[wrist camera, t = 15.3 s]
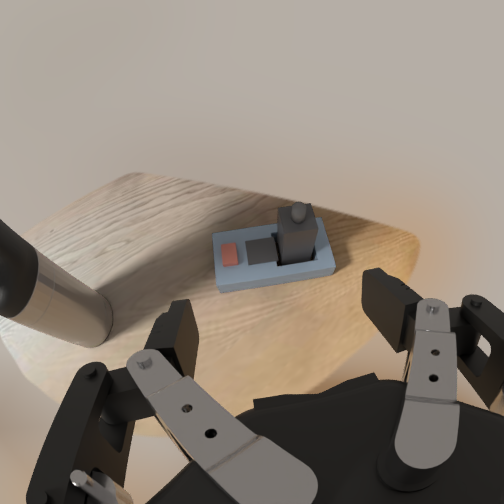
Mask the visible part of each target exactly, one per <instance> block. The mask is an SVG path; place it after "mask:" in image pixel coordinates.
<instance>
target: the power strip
mask: <svg viewBox="0 0 504 504" xmlns="http://www.w3.org/2000/svg"><path fill="white" fill-rule="evenodd" d="M315 219H316V222H317V225H318V228H319V229H318V233H317V237H316V240H315V244H314V248H313V251H312V259H313V261H308V262H302V263H296V264H290V265H284V266H277V263H276V261H278V255H277V250H276V246H275V242H277V223H276V224H269V225H263V226H256V227H249V228H243V229H237V230H230V231H224V232H218V233H212V239H213V252H214V264H215V275H216V286H217V288H218V289H219V291H220V293H224V292H231V291H238V290H245V289H252V288H258V287H264V286H271V285H277V284H283V283H289V282H295V281H301V280H307V279H313V278H318V277H324V276H329V275H332V274H333V272H334V270H335V268H336V264H335V261H334V257H333V254H332V250H331V247H330V244H329V240H328V237H327V234H326V230H325V227H324V224H323V221H322V218H321V217H318V218H315Z"/></svg>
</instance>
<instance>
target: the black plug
mask: <svg viewBox="0 0 504 504" xmlns="http://www.w3.org/2000/svg"><path fill="white" fill-rule="evenodd" d="M318 229H319V228H318V225H317V222H316V219H315V215H314V212H313V209H312V206H311V203H309V204H304V203H302V202H296V203H294V204H293V205H292V206H287V207H281V208H278V221H277V251H278V255H279V260H280V265H281V266H284V265H290V264H296V263H302V262H308V261H310V258H311V255H312V251H313V248H314V244H315V240H316V237H317V233H318Z"/></svg>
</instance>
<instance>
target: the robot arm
mask: <svg viewBox="0 0 504 504" xmlns="http://www.w3.org/2000/svg"><path fill="white" fill-rule="evenodd" d="M362 308H363V310H364V312H365V314H366V315H367V316H368V317H369V319H370V320H371V321H372V322H373V324H374V325H375V326H376V327H377V329H378V330H379V331H380V332H381V334H382V335H383V336H384V338H385V339H386V340H387V341H388V343H389V344H390V345H391V346H392V348H393V349H394V350H395V352H396V353H399V352H401V351H404V350H407V351H408V353H407V357H406V362H405V367H404V373H403V377H402V381H397V380H378V378H377V376H376V375H375V373H370V374H367V375H364V376H360V377H357V378H354V379H350V380H347V381H345V382H343V383H341V384H339V385H337V386H335V387H332V388H330V389H328V390H326V391H324V392H322V393H319V394H284V395H278V396H272V397H266V398H259V399H253V403H254V408H253V409H250V410H248V411H245V412H243V413H241V414H239V415H238V416H236V417H234V416H233V415H231V414H230V413H229V412H228V411H227V410H226V409H224V408H223V407H222V406H221V405H220V404H219V403H218V402H217V401H215V400H214V399H213V398H212V397H211V396H210V395H209V394H208V393H207V392H206V391H205V390H203V389H202V388H201V387H200V386H199V385H198V384H197V383H196V382H195V381H194V380H193V379H194V372H195V365H196V358H197V351H198V345H199V333H198V328H197V324H196V321H195V317H194V313H193V310H192V306H191V303H190V300H189V299H185V300H177V301H172V303H171V306H170V308H169V311H168V312H166V313H162V314H161V315H160V316H159V317H158V318H157V319H156V321H155V323H154V325H153V328H152V330H151V333H150V335H149V337H148V340H147V342H146V344H145V347H144V349H143V350H141V351H139V352H136V353H135V354H133V355H132V356H131V357H130V358H129V359H128V361H127V364H126V367H124V368H120V369H116V370H112V371H108V369H107V367H106V366H105V364H103V363H101V362H91V363H88V364H86V365H84V366H83V367H81V368H80V369H79V370H78V371H77V373H76V375H75V377H74V379H73V381H72V383H71V385H70V387H69V389H68V391H67V393H66V395H65V397H64V399H63V401H62V403H61V405H60V408H59V410H58V412H57V414H56V416H55V418H54V421H53V423H52V425H51V428H50V430H49V432H48V435H47V437H46V440H45V442H44V445H43V447H42V450H41V452H40V455H39V458H38V460H37V463H36V466H35V469H34V472H33V475H32V478H31V481H30V484H29V487H28V491H27V494H26V503H27V504H133V500H132V498H131V496H130V494H129V493H128V492H127V491H126V490H124V489H123V488H124V481H125V475H126V469H127V462H128V456H129V451H130V446H131V441H132V435H133V430H134V426H135V421H136V420H139V419H143V418H147V417H151V416H154V417H155V418H156V420H157V421H158V423H159V424H160V425H161V427H162V428H163V429H164V431H165V432H166V433H167V435H168V436H169V437H170V439H171V440H172V441H173V442H174V444H175V445H176V446H177V448H178V449H179V450H180V452H181V453H182V454H183V456H184V457H185V458H186V459H187V460H188V462H189V463H188V464H187V465H186V466H185V467H184V468H183V469H182V470H181V471H180V472H179V473H178V474H177V475H176V476H175V477H174V478H173V479H172V480H171V481H170V482H169V483H168V484H167V485H166V486H164V487H163V488H162V489H161V490H160V491H159V492H158V493H157V494H156V495H155V496H153V497H152V498H151V499H150V500H149V501H148V502H147V503H145V504H504V313H503V312H502V311H501V310H499V309H498V308H497V307H496V306H494V305H493V304H492V303H491V302H489V301H488V300H487V299H485V298H483V297H482V296H479V295H467V296H465V297H464V298H463V300H462V305H461V307H456V308H448V306H447V304H445V302H443V301H441V300H438V299H433V298H428V299H423V298H422V297H421V296H419V295H418V294H417V293H416V292H414V291H413V290H412V289H410V287H408V286H407V285H405V283H403V282H402V281H401V280H400V279H398V278H395V277H393V276H390V275H388V274H387V273H385V272H384V271H383V270H382V269H380V268H374V269H369V270H365V271H364V272H363V276H362ZM0 315H1V316H3V317H6V318H8V319H10V320H12V321H14V322H17V323H19V324H22V325H24V326H27V327H29V328H32V329H34V330H37V331H39V332H42V333H45V334H47V335H50V336H53V337H56V338H59V339H61V340H64V341H67V342H70V343H73V344H76V345H80V346H83V347H86V348H93V347H96V346H98V345H100V344H101V343H102V342H103V341H104V340H105V339H106V338H107V336H108V334H109V332H110V330H111V326H112V320H113V317H112V310H111V306H110V304H109V302H108V301H107V300H106V298H105V297H103V296H102V295H100V294H99V293H97V292H96V291H94V290H93V289H91V288H90V287H88V286H87V285H85V284H84V283H82V282H81V281H79V280H78V279H76V278H75V277H73V276H72V275H71V274H69V273H68V272H66V271H65V270H63V269H62V268H61V267H59V266H58V265H57V264H55V263H54V262H52V261H51V260H50V259H48V258H47V257H46V256H44V255H43V254H42V253H40V252H39V251H38V250H37V249H35V248H34V247H33V246H32V245H30V244H29V243H28V242H27V241H25V240H24V239H23V238H22V237H20V236H19V235H18V234H17V233H15V232H14V231H13V230H12V229H11V228H10V227H8V226H7V225H6V224H5V223H4V222H3V221H2V220H1V219H0ZM481 335H482V336H483V337H484V338H485V339H486V340H487V341H488V342H489V343H490V346H491V354H490V356H489V357H488V356H487V355H486V354H485V353H484V352H483V351H482V350H481V349H480V348H479V347H478V346H477V345H478V342H479V339H480V336H481ZM457 368H458V369H459V370H460V372H461V373H462V374H463V375H464V377H465V378H466V379H467V380H468V382H469V383H470V384H471V386H472V387H473V388H474V390H475V391H476V392H477V394H478V395H479V396H480V398H481V399H482V400H483V402H484V403H485V405H486V406H487V407H488V409H489V410H490V411H488V410H485V409H481V408H478V407H475V406H471V405H469V404H466V403H463V402H459V401H457V399H456V398H457ZM100 416H101V417H100ZM99 419H100V420H99Z"/></svg>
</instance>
